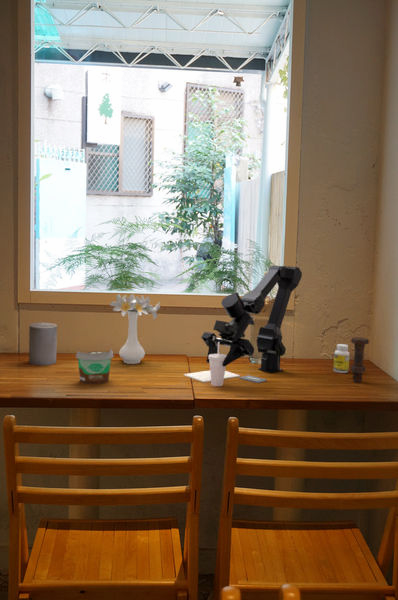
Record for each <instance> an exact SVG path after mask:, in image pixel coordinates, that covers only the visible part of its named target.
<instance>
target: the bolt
mask: <svg viewBox="0 0 398 600" xmlns="http://www.w3.org/2000/svg"><path fill="white" fill-rule="evenodd" d="M350 342H351V343H352V344H353V345H354V354H353V364H352V365H351V366H350V371H351V372H352V380H353V382H354V383H361V382H362V381H363V373H365V372H366V367H365V365H364V355H365V354H364V353H365V347H366V345H368V344H369V343H370V342H369V339H368V338H366V337H351V339H350Z"/></svg>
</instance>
